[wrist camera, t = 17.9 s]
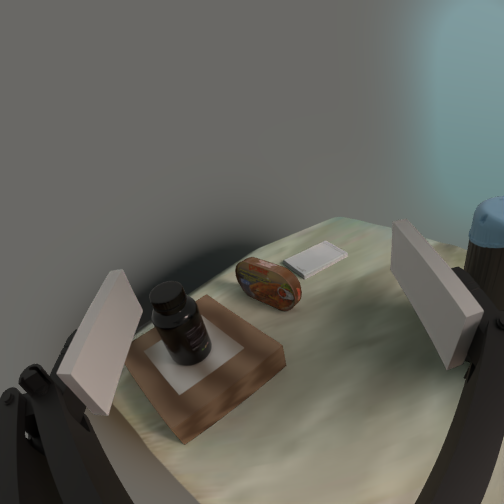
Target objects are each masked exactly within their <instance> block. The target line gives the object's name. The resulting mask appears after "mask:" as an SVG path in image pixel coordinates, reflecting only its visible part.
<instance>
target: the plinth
mask: <svg viewBox="0 0 504 504" xmlns="http://www.w3.org/2000/svg"><path fill="white" fill-rule="evenodd" d="M195 302H196V303H197V306H198V308H199V311H200V314H201V316H202V319H203V321H204V324H205V327H206V329H207V332H208V334H209V337H210V340H211V343H212V348H211V351H210V353H209V355H208V356H207V357H206V358H205V359H204V360H203V361H202V362H200V363H198V364H195V365H191V366H184V365H180V364H178V363H176V362H175V361H174V360H173V359H172V358H171V356H170V354H169V353H168V351H167V349H166V347H165V345H164V343H163V341H162V340H161V338H160V336H159V334H158V332H157V330H156V328H155V327H154V328H153V329H151V330H150V331H148V332H147V333H145V334H143V335H142V336H140V337H139V338H137V339H135V340H134V341H132V342H131V345H130V348H129V351H128V354H127V357H126V360H125V363H124V364H125V365H126V367H127V368H128V370H129V372H130V373H131V375H132V376H133V378H134V379H135V381H136V382H137V384H138V385H139V386H140V388H141V389H142V391H143V392H144V394H145V395H146V397H147V398H148V399H149V401H150V402H151V404H152V405H153V406H154V408H155V409H156V410H157V412H158V413H159V414H160V416H161V417H162V418H163V420H164V421H165V422H166V424H167V425H168V426H169V428H170V429H171V430H172V431H173V432H174V434H175V435H176V436H177V437H178V438H179V439H180V440H181V441H182V443H183V444H184V445H185V444H186V443H188V442H189V441H191V440H192V439H194V438H195V437H196V436H198V435H199V434H201V433H202V432H203V431H205V430H206V429H207V428H209V427H210V426H212V425H213V424H214V423H216V422H217V421H218V420H220V419H221V418H222V417H224V416H225V415H226V414H228V413H229V412H230V411H231V410H233V409H234V408H235V407H237V406H238V405H239V404H240V403H242V402H243V401H244V400H245V399H247V398H248V397H249V396H250V395H252V394H253V393H254V392H255V391H257V390H258V389H259V388H260V387H261V386H263V385H264V384H265V383H266V382H268V381H269V380H270V379H271V378H272V377H273V376H275V375H276V374H277V373H278V372H279V371H281V370H282V369H283V368H284V367H285V366H286V361H285V356H284V351H283V345H282V344H280V343H278V342H277V341H275V340H274V339H272V338H271V337H269V336H268V335H266V334H264V333H263V332H261V331H260V330H258V329H257V328H255V327H254V326H252V325H251V324H249V323H248V322H246V321H245V320H243V319H242V318H240V317H239V316H237V315H236V314H234V313H233V312H231V311H230V310H229V309H227V308H226V307H224V306H223V305H221V304H220V303H218V302H217V301H215V300H214V299H213V298H211V297H210V296H208V295H207V294H206V295H205V296H203V297H202V298H200V299H198V300H197V301H195Z"/></svg>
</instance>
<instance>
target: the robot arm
mask: <svg viewBox="0 0 504 504" xmlns="http://www.w3.org/2000/svg"><path fill="white" fill-rule="evenodd" d="M392 224H393V225H392V251H391V268H390V270H391V271H392V273H393V275H394V276H395V278H396V279H397V281H398V283H399V284H400V286H401V288H402V289H403V291H404V293H405V294H406V296H407V298H408V299H409V301H410V303H411V305H412V306H413V308H414V310H415V311H416V313H417V315H418V317H419V318H420V320H421V322H422V324H423V326H424V327H425V329H426V331H427V333H428V335H429V337H430V338H431V340H432V342H433V344H434V346H435V348H436V350H437V352H438V354H439V356H440V358H441V360H442V361H443V363H444V365H445V367H446V369H447V370H449V369H451V368H454V367H457V366H459V365H462V364H463V363H464V361H465V360H466V361H469V362H471V364H470V366H469V368H468V370H467V372H466V374H465V376H464V378H465V379H466V380H465V384H464V387H463V391H462V394H461V397H460V400H459V403H458V406H457V409H456V412H455V415H454V418H453V421H452V423H451V426H450V429H449V431H448V434H447V437H446V439H445V442H444V444H443V446H442V449H441V451H440V453H439V456H438V458H437V460H436V463H435V465H434V467H433V469H432V471H431V473H430V475H429V477H428V479H427V481H426V483H425V485H424V487H423V489H422V491H421V493H420V495H419V497H418V499H417V501H416V502H415V504H481V502H482V499H483V497H484V495H485V492H486V489H487V487H488V484H489V481H490V479H491V476H492V473H493V470H494V467H495V464H496V461H497V458H498V454H499V451H500V447H501V444H502V440H503V436H504V196H498V197H494V198H489V199H487V200H485V201H483V202H482V203H480V204H479V205H478V207H477V208H476V210H475V212H474V217H473V222H472V227H471V229H470V231H469V245H468V250H467V255H466V261H465V266H464V270H463V269H461V268H460V267H455V268H450V267H449V266H448V264H447V263H446V262H445V261H444V260H443V259H442V257H441V256H440V255H439V254H438V253H437V252H436V250H435V249H434V248H433V247H432V246H431V245H430V244H429V243H428V241H427V240H426V239H425V238H424V237H423V236H422V235H421V234H420V233H419V232H418V231H417V229H416V228H415V227H414V226H413V225H412V224H411V223H410V222H409V221H408V220H407V219H403V220H397V221H393V222H392ZM142 312H143V310H142V308H141V306H140V304H139V302H138V300H137V298H136V296H135V294H134V292H133V290H132V288H131V286H130V284H129V282H128V280H127V277H126V275H125V273H124V271H123V269H119V270H115V271H110V272H109V274H108V276H107V277H106V279H105V281H104V282H103V284H102V286H101V288H100V290H99V291H98V293H97V295H96V296H95V298H94V300H93V302H92V304H91V305H90V307H89V309H88V311H87V313H86V315H85V317H84V318H83V320H82V323H81V324H80V326H79V328H78V329H76V330H75V331H74V332H73V333H72V334H71V335H70V336H69V337H68V339H67V341H66V343H65V345H64V348H63V349H62V351H61V355H59V357H58V359H57V361H56V363H55V365H54V368H53V369H52V372H51V374H50V376H49V375H48V374H47V373H46V371H45V370H44V369H43V368H42V367H41V366H40V365H38V364H33V365H31V366H28V367H27V368H26V369H25V370H24V371H23V372H22V374H21V375H20V378H19V385H20V386H21V387H22V388H23V389H24V390H25V391H26V392H27V393H26V394H21V393H20V391H19V390H18V389H17V388H13V387H12V388H9V389H7V390H6V391H5V392H3V394H2V396H1V398H0V504H134V503H133V501H132V500H131V498H130V496H129V495H128V493H127V492H126V490H125V488H124V487H123V485H122V483H121V482H120V480H119V478H118V476H117V475H116V473H115V471H114V469H113V467H112V465H111V464H110V462H109V460H108V458H107V456H106V454H105V453H104V450H103V448H102V446H101V444H100V442H99V440H98V438H97V436H96V434H95V432H94V430H93V427H92V425H91V423H90V421H89V419H88V417H87V416H86V415H85V414H84V412H85V409H86V407H87V408H88V409H89V410H90V411H91V412H92V413H93V414H94V415H107V416H108V414H109V411H110V408H111V404H112V401H113V398H114V394H115V391H116V388H117V385H118V382H119V378H120V375H121V372H122V369H123V366H124V363H125V360H126V357H127V354H128V351H129V348H130V345H131V342H132V340H133V337H134V334H135V331H136V328H137V325H138V323H139V320H140V317H141V314H142ZM25 431H26V432H27V433H28V439H27V438H26V437H25Z"/></svg>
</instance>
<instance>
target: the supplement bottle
mask: <svg viewBox="0 0 504 504" xmlns="http://www.w3.org/2000/svg"><path fill="white" fill-rule="evenodd" d="M149 299H150V301H151V304H152V307H153V312H152V322H153V324H154V326H155V328H156V330H157V332H158V334H159V336H160V338H161V340H162V341H163V343H164V345H165V347H166V349H167V351H168V353H169V354H170V356H171V358H172V359H173V360H174V361H175V362H176V363H178V364H180V365H184V366H191V365H195V364H198V363H200V362H202V361H203V360H204V359H205V358H206V357H207V356H208V355H209V353H210V351H211V348H212V343H211V340H210V337H209V334H208V332H207V329H206V327H205V324H204V321H203V319H202V316H201V314H200V311H199V308H198V306H197V303H196V302H195V300H194V299H192V298H191V297H189V296H187V295H186V293H185V291H184V289H183V287H182V285H181V284H180V283H179V282H175V281H168V282H164V283H162V284H159V285H158V286H156V287H155V288H154V289H153V290H152V291H151V293H150V295H149Z"/></svg>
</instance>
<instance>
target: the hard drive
mask: <svg viewBox="0 0 504 504" xmlns="http://www.w3.org/2000/svg"><path fill="white" fill-rule="evenodd" d="M347 256H348V253H347V252H346V251H344V250H342V249H340V248H339V247H337V246H335V245H333V244H331V243H329V242H328V241H323V242H321V243H319V244H317V245H315V246H313V247H311V248H308V249H306V250H304V251H302V252H300V253H298V254H296V255H294V256H291V257H289V258H287V259H285V260H283V263H284V264H285V265H286V266H287V267H289V268H290V269H291V270H293V271H294V272H295V273H297V274H298V275H299V276H301V277H302V278H303V279H306V278H308V277H310V276H312V275H314V274H316V273H318V272H320V271H321V270H323V269H325V268H327V267H329V266H331V265H333V264H334V263H336V262H338V261H340V260H342V259H343V258H345V257H347Z"/></svg>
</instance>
